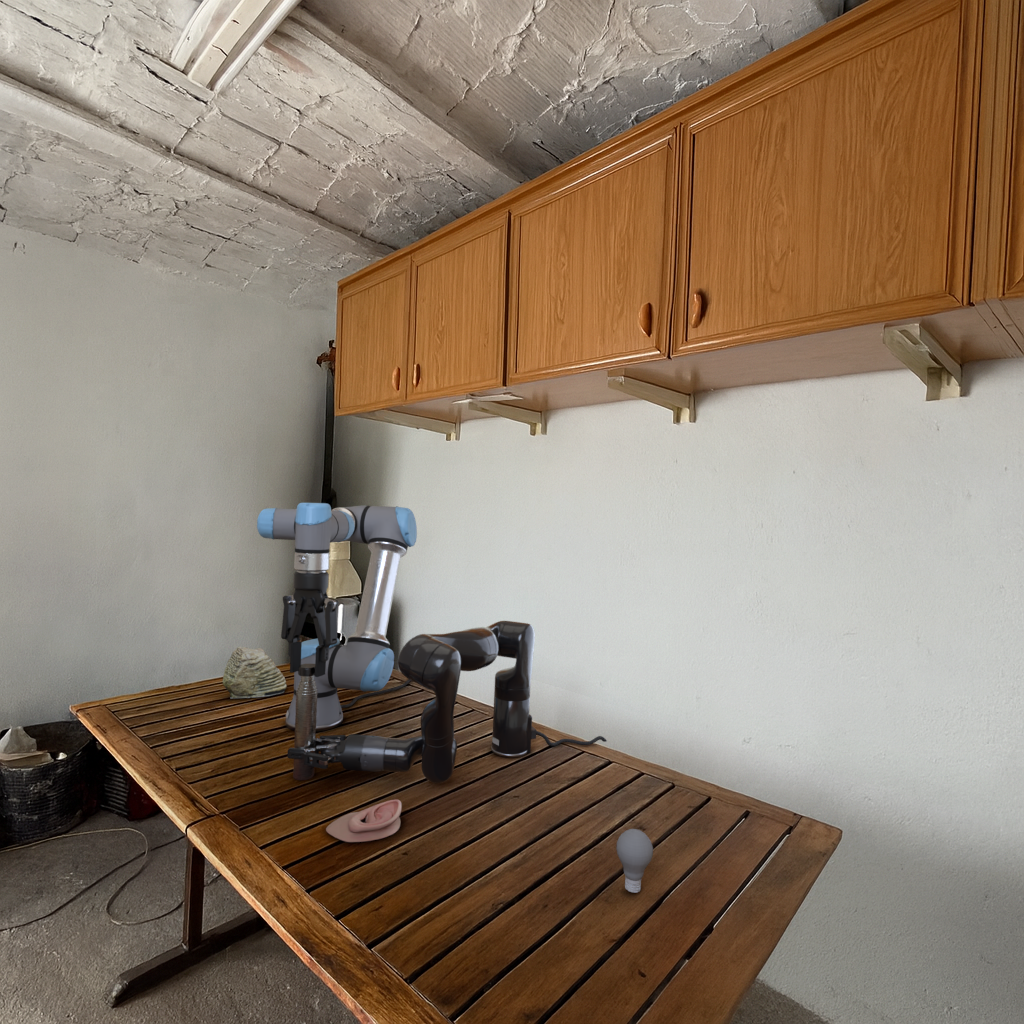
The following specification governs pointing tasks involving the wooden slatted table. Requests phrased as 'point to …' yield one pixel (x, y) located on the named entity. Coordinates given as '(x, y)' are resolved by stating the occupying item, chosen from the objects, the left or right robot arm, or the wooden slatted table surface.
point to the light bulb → (634, 857)
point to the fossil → (252, 674)
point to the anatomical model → (368, 823)
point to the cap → (306, 669)
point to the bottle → (305, 724)
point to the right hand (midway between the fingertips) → (293, 748)
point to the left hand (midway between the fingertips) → (307, 673)
